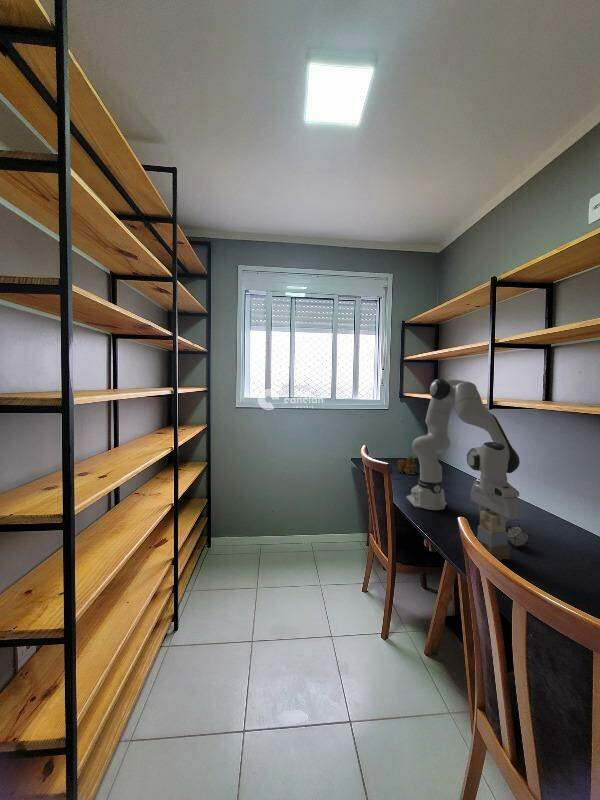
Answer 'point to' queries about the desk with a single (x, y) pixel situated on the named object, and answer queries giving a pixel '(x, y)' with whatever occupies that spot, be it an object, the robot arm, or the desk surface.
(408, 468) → the stuffed squirrel
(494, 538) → the slate block
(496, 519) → the maple block
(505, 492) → the robot arm
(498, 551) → the walnut plinth
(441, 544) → the desk surface
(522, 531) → the game die
